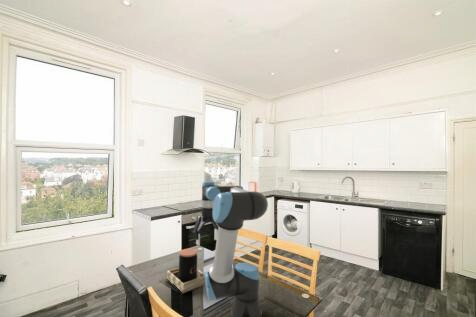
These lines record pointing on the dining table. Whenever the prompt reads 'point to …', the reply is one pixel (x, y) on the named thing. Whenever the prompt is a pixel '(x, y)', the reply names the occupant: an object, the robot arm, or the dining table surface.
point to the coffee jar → (187, 265)
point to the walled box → (187, 286)
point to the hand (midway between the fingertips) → (207, 242)
